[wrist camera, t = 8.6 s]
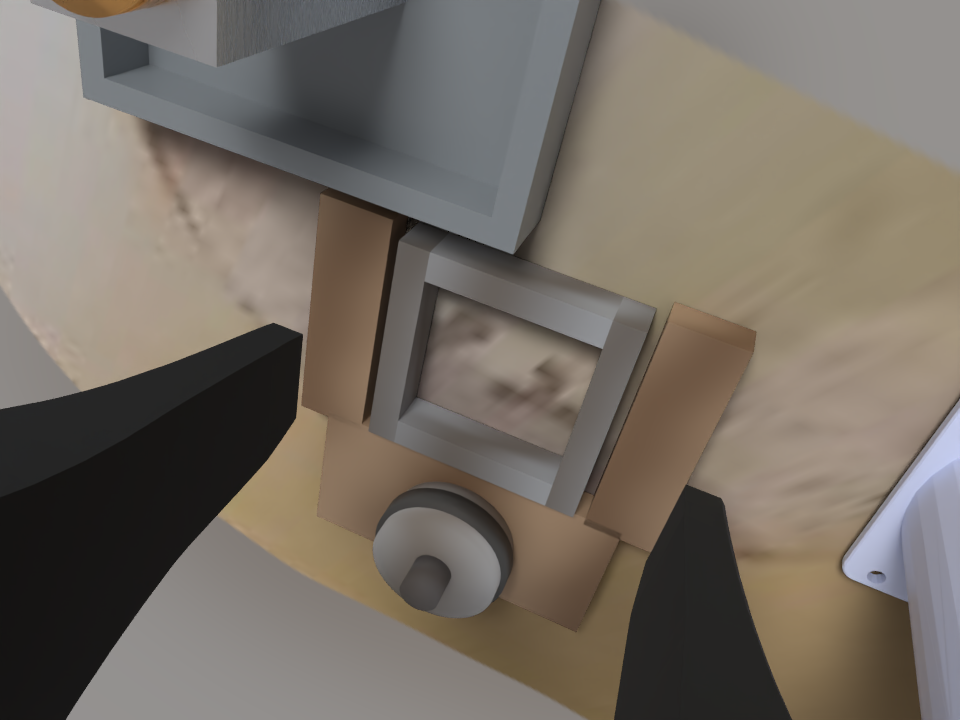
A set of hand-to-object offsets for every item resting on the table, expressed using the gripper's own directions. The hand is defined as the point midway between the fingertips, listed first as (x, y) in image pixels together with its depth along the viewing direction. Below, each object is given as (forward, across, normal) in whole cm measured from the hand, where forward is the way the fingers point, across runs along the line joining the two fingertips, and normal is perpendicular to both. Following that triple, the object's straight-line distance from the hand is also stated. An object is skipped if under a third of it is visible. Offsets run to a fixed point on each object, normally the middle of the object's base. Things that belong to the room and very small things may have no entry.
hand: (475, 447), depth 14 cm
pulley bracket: (+10, +2, +8) cm, 13 cm away
